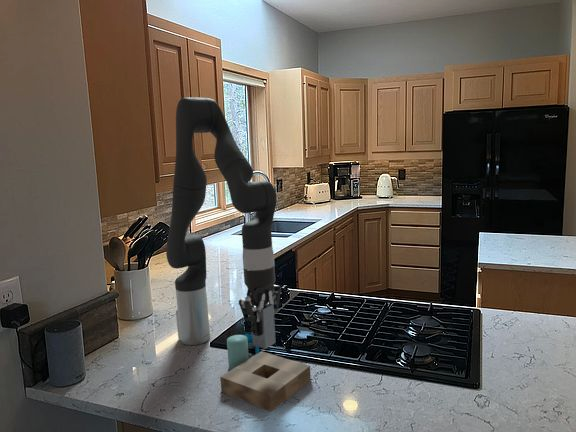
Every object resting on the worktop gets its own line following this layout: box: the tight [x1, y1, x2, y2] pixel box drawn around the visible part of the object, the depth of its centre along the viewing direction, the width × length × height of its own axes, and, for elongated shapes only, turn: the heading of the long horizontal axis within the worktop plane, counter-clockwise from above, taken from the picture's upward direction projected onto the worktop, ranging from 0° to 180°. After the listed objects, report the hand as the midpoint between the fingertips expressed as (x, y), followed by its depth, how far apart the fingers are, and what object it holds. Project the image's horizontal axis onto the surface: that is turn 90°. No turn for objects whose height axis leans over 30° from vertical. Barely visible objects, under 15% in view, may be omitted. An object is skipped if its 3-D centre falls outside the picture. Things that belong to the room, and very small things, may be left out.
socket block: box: [220, 350, 311, 412], centre depth 117 cm, size 16×16×4 cm
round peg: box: [226, 334, 250, 371], centre depth 128 cm, size 6×6×8 cm
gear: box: [243, 332, 260, 355], centre depth 135 cm, size 11×6×10 cm
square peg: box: [250, 303, 277, 350], centre depth 115 cm, size 4×4×10 cm
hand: (263, 331), depth 115 cm, fingers closed on square peg, 4 cm apart
